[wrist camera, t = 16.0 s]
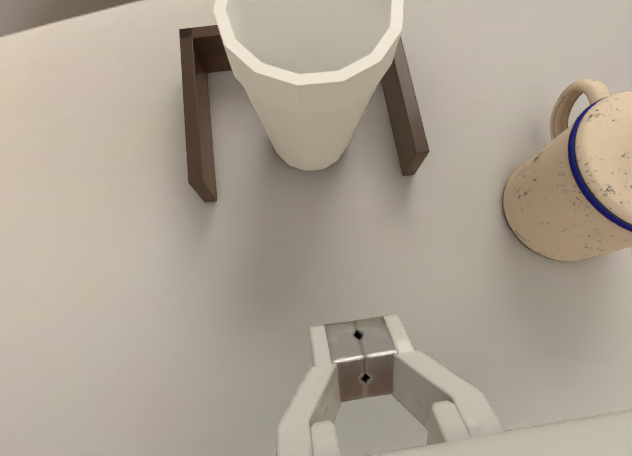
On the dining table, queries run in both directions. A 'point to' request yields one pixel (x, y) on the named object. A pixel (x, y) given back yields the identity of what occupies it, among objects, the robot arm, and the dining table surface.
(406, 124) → the bay
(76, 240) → the dining table surface
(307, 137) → the foam cup
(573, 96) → the teacup with lid
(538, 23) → the dining table surface
